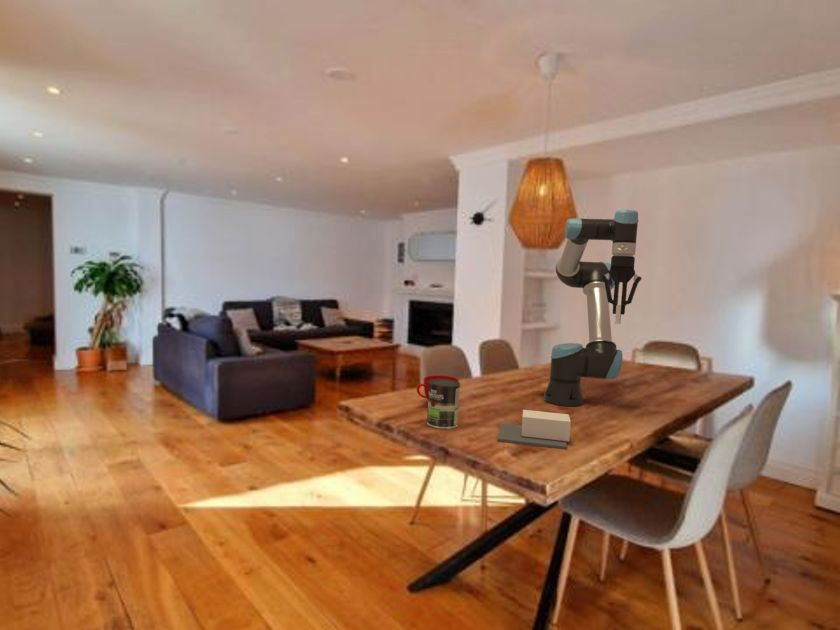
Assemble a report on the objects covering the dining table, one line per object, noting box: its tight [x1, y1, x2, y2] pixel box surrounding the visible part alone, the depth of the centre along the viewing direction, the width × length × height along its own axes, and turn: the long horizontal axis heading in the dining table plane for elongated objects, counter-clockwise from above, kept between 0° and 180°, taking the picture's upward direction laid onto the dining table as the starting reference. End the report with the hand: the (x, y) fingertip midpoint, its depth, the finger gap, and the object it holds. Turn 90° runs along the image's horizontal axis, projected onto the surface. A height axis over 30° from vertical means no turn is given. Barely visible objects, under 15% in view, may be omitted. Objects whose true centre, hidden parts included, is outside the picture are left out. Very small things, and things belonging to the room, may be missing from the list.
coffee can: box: [426, 379, 461, 430], centre depth 159 cm, size 10×10×14 cm
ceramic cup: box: [416, 375, 460, 401], centre depth 180 cm, size 13×17×10 cm
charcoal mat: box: [497, 422, 568, 450], centre depth 151 cm, size 20×16×1 cm
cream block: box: [521, 409, 572, 442], centre depth 150 cm, size 6×8×14 cm
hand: (617, 323), depth 169 cm, fingers closed
